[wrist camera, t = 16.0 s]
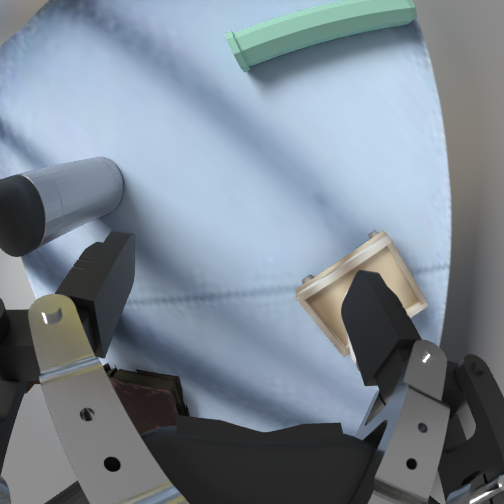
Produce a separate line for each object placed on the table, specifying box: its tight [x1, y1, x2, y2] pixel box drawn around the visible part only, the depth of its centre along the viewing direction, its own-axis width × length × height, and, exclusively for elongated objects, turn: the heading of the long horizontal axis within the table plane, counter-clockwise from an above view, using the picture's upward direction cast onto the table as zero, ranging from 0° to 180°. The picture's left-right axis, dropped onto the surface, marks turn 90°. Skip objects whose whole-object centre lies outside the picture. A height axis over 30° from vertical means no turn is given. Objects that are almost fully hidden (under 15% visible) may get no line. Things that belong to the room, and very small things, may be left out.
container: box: [225, 0, 417, 72], centre depth 29 cm, size 6×6×25 cm
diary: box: [103, 363, 190, 435], centre depth 59 cm, size 19×25×5 cm
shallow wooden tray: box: [296, 230, 429, 357], centre depth 40 cm, size 14×12×6 cm
